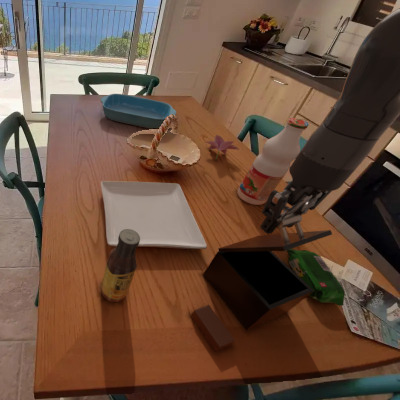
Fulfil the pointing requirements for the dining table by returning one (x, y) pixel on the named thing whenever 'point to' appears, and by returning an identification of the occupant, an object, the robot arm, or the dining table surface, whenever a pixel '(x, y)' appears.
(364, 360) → the dining table surface
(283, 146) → the fruit juice
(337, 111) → the robot arm
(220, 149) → the lily
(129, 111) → the casserole dish
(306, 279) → the snack package
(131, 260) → the sauce bottle
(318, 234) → the bin lid
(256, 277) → the waste bin
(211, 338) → the chocolate bar
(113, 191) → the square plate
